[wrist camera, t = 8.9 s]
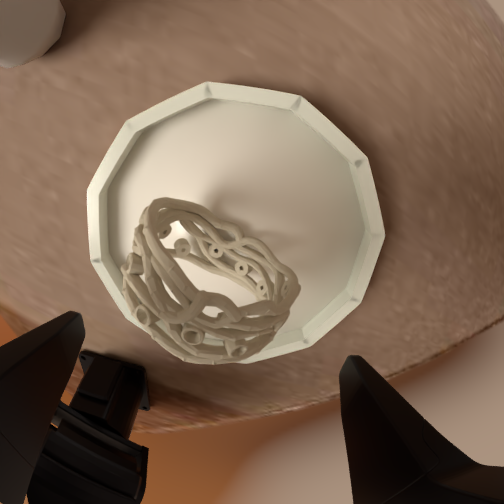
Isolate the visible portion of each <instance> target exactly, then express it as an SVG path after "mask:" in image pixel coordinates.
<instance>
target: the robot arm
mask: <svg viewBox="0 0 504 504" xmlns="http://www.w3.org/2000/svg"><path fill="white" fill-rule="evenodd" d="M84 338H85V328H84V323H83V319H82V315H81V314H80V313H78V312H75V311H68V312H66V313H64V314H62V315H60V316H58V317H56V318H54V319H52V320H51V321H49V322H47V323H45V324H43V325H41V326H39V327H37V328H35V329H33V330H31V331H29V332H27V333H25V334H23V335H21V336H20V337H18V338H16V339H14V340H12V341H10V342H8V343H6V344H4V345H2V346H1V347H0V502H1V503H2V504H23V503H24V500H25V496H26V494H27V498H28V502H29V504H140V503H141V501H142V499H143V496H144V492H145V488H146V478H147V463H148V451H149V448H147V447H144V446H140V445H138V444H136V443H134V442H132V441H130V440H129V437H130V434H131V431H132V427H133V424H134V421H135V418H136V415H137V412H138V409H141V410H145V411H149V410H150V406H151V405H150V399H149V392H148V385H147V377H146V371H145V369H144V368H143V367H141V366H137V365H133V364H129V363H125V362H121V361H117V360H113V359H110V358H106V357H102V356H99V355H95V354H92V353H89V352H85V351H81V352H80V349H81V346H82V344H83V341H84ZM79 352H80V354H79ZM78 355H79V359H80V362H81V365H82V369H83V372H84V376H83V378H82V380H81V382H80V384H79V386H78V388H77V391H76V393H75V394H74V396H73V398H72V400H71V402H70V404H69V406H68V405H66V404H64V403H63V402H62V401H61V400H60V399H61V397H62V394H63V392H64V390H65V388H66V385H67V383H68V381H69V379H70V377H71V374H72V372H73V369H74V366H75V363H76V361H77V358H78ZM339 384H340V402H341V417H342V424H343V429H344V437H345V443H346V450H347V457H348V463H349V471H350V479H351V487H352V495H353V504H504V467H499V466H487V465H482V464H479V463H477V462H475V461H473V460H472V459H471V458H469V457H468V456H467V455H466V454H464V453H463V452H462V451H461V450H459V449H458V448H457V447H456V446H454V445H453V444H452V443H451V442H450V441H448V440H447V439H446V438H445V437H444V436H442V435H441V434H440V433H439V432H438V431H437V430H436V429H435V428H434V427H433V426H432V425H431V424H430V423H429V422H428V421H426V420H425V419H424V418H423V417H422V416H421V415H420V414H419V413H418V412H417V411H416V410H415V409H414V408H413V407H412V406H411V405H410V404H409V403H408V402H407V401H406V400H405V399H404V398H403V397H402V396H401V395H400V394H399V393H398V392H397V391H396V390H395V389H394V388H393V387H392V386H391V385H390V384H389V383H388V382H387V381H386V380H385V379H384V378H383V377H382V376H381V375H380V374H379V373H378V372H377V371H376V370H375V369H374V368H373V367H372V366H371V365H370V364H369V363H368V362H367V361H366V360H364V359H363V358H362V357H361V356H359V355H349V356H348V357H347V359H346V361H345V363H344V365H343V367H342V369H341V371H340V374H339ZM51 422H52V423H53V424H55V425H56V426H58V428H56V427H54V426H53V425H51Z"/></svg>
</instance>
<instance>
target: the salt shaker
mask: <svg viewBox="0 0 504 504" xmlns="http://www.w3.org/2000/svg"><path fill="white" fill-rule="evenodd" d="M65 16H66V13H65V11H64V9H63V6H62V4H61V2H60V0H0V66H2V67H5V68H11V67H16V66H19V65H23V64H26V63H28V62H30V61H32V60H35V59H37V58H39V57H41V56H43V55H44V54H45V53H46V51H47V50H48V49H49V48H50V47H51V46H52V45H53V44H54V43H55V42H56V41H57V40H58V39H59V38H60V36H61V32H62V28H63V24H64V20H65Z"/></svg>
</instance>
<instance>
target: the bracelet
mask: <svg viewBox="0 0 504 504" xmlns="http://www.w3.org/2000/svg"><path fill="white" fill-rule="evenodd" d="M163 208H166V209H163ZM160 209H161V210H160ZM159 210H160V211H159ZM178 220H179V222H180V224H181V225H182V226H183V228H184V229H185V230H186V231H187V232H188V233H189V234H190V235H192V236H194V237H195V238H196V240H197V242H198V244H199V246H200V249H201V251H202V253H203V254H204V255H205V256H206V257H207V258H208V260H210V261H211V262H212V263H213V264H214V265H212V264H211V263H209V262H207V261H205V260H204V259H202V258H200V257H198V256H196V255H194V254H192V253H190V252H191V246H190V245H189V243H188V241H187V240H186V239H184V238H180V239H178V240H176V241H175V243H174V248H175V249H170V248H165V247H164V246H163V244H162V242H161V241H160V239H164V238H166V237H167V236H168V235H169V234H170V233H171V230H172V228H171V226H170V225H169V224H171V223H173V222H175V221H178ZM193 222H194V223H196V224H198V225H199V226H200V227H201V228H203V229H204V230H205V231H206V232H207V233H208V234H209V235H210V236H209V235H206V234H203V232H202V231H201V230H200V229H199V228H198V227H197V226H196V225H195V224H194V223H193ZM214 227H216V228H218V229H222V230H226V231H230V232H232V233H234V235H235V240H231V241H227V240H225V239H224V238H223V237H222V236H221V235H220V234H219V233H218V231H217V230H216V229H215V228H214ZM207 242H209V243H211V244H210V247H209V245H208V243H207ZM132 244H133V245H132V250H133V253H129V254H128V256H127V259H126V263H124V264H122V266H121V271H122V273H123V289H122V293H123V294H124V297H125V300H126V303H127V306H128V308H129V310H130V312H131V315H132V316H133V317H134V318H135V319H136V320H137V321H138V322H139V324H140V325H141V326H142V327H143V328H144V329H145V330H146V331H147V332H148V333H149V334H150V335H151V337H152V339H154V340H155V341H156V342H158V343H159V344H160V345H161V346H162V347H163V348H164V349H166V350H167V351H169V352H170V353H171V354H173V355H174V356H176V357H178V358H180V359H181V360H183V361H185V362H190V363H195V364H213V365H216V364H225V363H234V362H240V361H241V360H244V359H247V358H249V357H251V356H253V355H254V354H259V353H260V351H261V350H262V349H263V348H264V347H265V346H266V345H268V344H269V343H270V342H271V341H273V338H274V336H275V335H276V333H277V331H278V330H279V329H280V328H281V327H282V326H283V325H284V323H285V322H286V321H287V319H288V317H289V316H290V308H291V306H292V304H293V303H294V302H295V300H296V298H297V297H298V296H299V293H300V291H301V285H300V284H299V283H298V278H297V276H296V274H295V273H294V271H293V270H292V269H291V268H289V267H288V266H286V265H284V264H282V263H281V262H280V261H279V260H278V259H277V258H276V257H275V255H274V254H273V253H272V251H271V250H270V249H269V248H268V246H267V245H266V244H265V243H264V242H262V241H261V240H260V239H258V238H256V237H252V236H247V237H245V236H244V232H243V229H242V228H241V227H240V226H238V225H237V224H236V223H232V222H229V221H224V220H221V219H219V218H217V217H216V216H215V215H214V214H213V213H212V212H211V211H209V210H208V209H207V208H205V207H204V206H202V205H200V204H197V203H194V202H190V201H186V200H180V199H174V198H169V197H162V198H158V199H154V200H153V201H152V202H151V204H150V205H149V206H148V207H146V208H145V209H144V210H143V212H142V214H141V216H140V218H139V225H138V226H137V227H136V228H135V230H134V240H133V242H132ZM246 245H252V246H254V247H256V248H257V249H258V250H260V251H261V252H262V254H261V253H260V252H258V251H256V250H254V249H252V248H250V247H248V246H246ZM216 248H217V249H218V251H215V250H214V249H216ZM233 249H236V250H238V251H240V252H242V253H244V254H246V255H248V256H250V257H252V258H253V259H255V260H257V261H259V262H260V263H262V264H264V265H265V266H267V267H268V268H270V269H271V270H272V271H273V273H274V275H275V285H274V283H273V282H272V281H271V279H270V277H269V275H268V273H267V272H266V270H265V269H264V268H263V267H262V265H260V264H259V263H258V262H257V261H255V260H253V259H250V258H248V257H245V256H242V255H240V254H238V253H237V252H235V251H234V250H233ZM223 252H225V253H226V254H228V255H229V256H231V257H232V258H234V259H235V260H237V261H238V262H237V263H236V264H235V268H234V267H232V266H231V265H229V264H227V263H226V262H224V261H223V260H221V259H220V258H219V257H221V256H222V254H223ZM174 258H180V259H183V260H187V261H189V262H191V263H193V264H194V265H196V266H198V267H200V268H202V269H204V270H206V271H208V272H210V273H213V274H216V275H219V276H223V277H226V278H228V279H230V280H232V281H233V282H235V283H237V284H238V285H240V286H242V287H244V288H245V289H246V290H248V291H249V292H251V293H252V294H253V295H255V298H256V301H257V302H255V303H252V304H248V305H245V306H241V307H237V306H236V304H235V303H234V302H233V301H232V300H231V299H230V298H228V297H227V296H225V295H223V294H220V293H214V292H206V291H205V290H201V291H200V290H199V289H197V288H196V287H195V286H194V285H193V283H192V282H191V281H190V280H189V279H188V277H187V276H186V275H185V273H184V272H183V270H182V269H181V267H180V266H179V264H178V263H177V262H176V260H175V259H174ZM242 266H243V267H242ZM253 268H254V269H255V270H256V271H257V272H258V273H259V275H260V276H261V278H262V279H263V280H260V281H258V284H257V282H256V281H255V280H254V279H253V278H251V277H250V276H249V275H247V274H249V273H250V272H251V271H252V269H253ZM143 273H144V275H145V282H146V284H147V285H146V284H145V282H144V281H143V280H142V279H141V277H140V276H139V275H143ZM285 276H286V277H287V278H288V280H287V281H285ZM162 280H163V281H164V283H165V284H166V285H167V286H168V288H169V289H170V290H171V292H172V293H173V295H174V296H175V297H176V299H177V300H178V301H179V303H180V304H179V303H177V302H176V301H175V300H174V299H172V298H171V296H170V295H169V294H168V292H167V291H166V289H165V287H164V284H163V282H162ZM136 295H137V296H138V298H139V299H140V300H141V302H142V303H143V304H141V305H140V304H139V303H138V300H137V297H136ZM284 297H285V298H284ZM205 306H211V307H217V308H219V309H220V310H222V311H223V312H220V313H218V315H217V317H210V316H208V315H206V314H204V313H203V312H202V311H203V310H204V308H205ZM252 315H259V317H253V318H249V317H247V316H252ZM160 319H162V320H163V321H164V324H165V326H166V328H167V331H168V333H169V334H170V336H171V337H172V338H173V339H172V338H171V337H170V336H169V335H168V334H167V333H165V332H164V331H163V330H162V329H161V328H160V327H159V326H158V325H157V324H156V323H155V322H157V321H160ZM181 323H184V324H183V326H182V325H181ZM225 327H229V328H225ZM205 333H207V334H209V335H211V336H213V337H216V338H220V339H223V340H224V341H223V344H224V346H213V345H209V344H205V343H202V342H203V340H204V337H205ZM253 336H256V337H254V338H252V339H250V340H246V341H245V339H244V338H248V337H253Z"/></svg>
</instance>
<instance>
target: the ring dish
mask: <svg viewBox="0 0 504 504" xmlns="http://www.w3.org/2000/svg"><path fill="white" fill-rule="evenodd" d="M162 197H169V198H174V199H180V200H186V201H190V202H194V203H197V204H200V205H202V206H204V207H205V208H207V209H208V210H209V211H211V212H212V213H213V214H214V215H215V216H216V217H217V218H219V219H221V220H224V221H229V222H232V223H236V224H237V225H238V226H240V227H241V228H242V229H243V232H244V236H245V237H247V236H252V237H256V238H258V239H260V240H261V241H262V242H264V243H265V244H266V245H267V246H268V248H269V249H270V250H271V251H272V253H273V254H274V255H275V257H276V258H277V259H278V260H279V261H280V262H281V263H282V264H284V265H286V266H288V267H289V268H291V269H292V270H293V271H294V273H295V274H296V276H297V278H298V283H299V284H300V285H301V291H300V293H299V296H298V297H297V298H296V300H295V302H294V303H293V304H292V306H291V308H290V316H289V317H288V319H287V321H286V322H285V323H284V325H283V326H282V327H281V328H280V329H279V330H278V331H277V333H276V335H275V336H274V338H273V341H271V342H270V343H269V344H268V345H266V346H265V347H264V348H263V349H262V350H261V351H260V353H259V354H254V355H253V356H251V357H249V358H247V359H244V360H241V361H240V362H236V363H244V364H248V363H252V362H256V361H260V360H264V359H268V358H272V357H276V356H279V355H283V354H287V353H290V352H294V351H297V350H301V349H304V348H308V347H311V346H312V345H313V344H314V343H315V342H317V341H318V340H319V339H320V338H321V337H323V336H324V335H325V334H326V333H327V332H328V331H330V330H331V329H332V328H333V327H334V326H335V325H337V324H338V323H339V322H340V321H341V320H342V319H344V318H345V317H346V316H347V315H348V314H349V313H350V312H351V311H352V310H354V309H355V308H356V307H357V306H358V305H359V304H360V303H361V302H362V299H363V297H364V294H365V292H366V289H367V286H368V284H369V281H370V278H371V276H372V273H373V270H374V267H375V265H376V262H377V259H378V256H379V253H380V250H381V247H382V244H383V241H384V238H385V231H384V226H383V221H382V216H381V211H380V206H379V202H378V197H377V193H376V189H375V184H374V180H373V176H372V172H371V169H370V165H369V161H368V157H367V156H366V155H365V154H364V153H363V152H362V151H361V150H360V149H359V148H358V147H357V146H356V145H355V144H354V143H353V142H352V141H351V140H350V139H349V138H348V137H346V136H345V135H344V134H343V133H342V132H341V131H340V130H339V129H338V128H337V127H336V126H335V125H334V124H333V123H332V122H331V121H329V120H328V119H327V118H326V117H325V116H324V115H323V114H322V113H321V112H319V111H318V110H317V109H316V108H315V107H314V106H313V105H311V104H310V103H309V102H308V101H307V100H306V99H304V98H303V97H302V96H299V95H295V94H290V93H284V92H279V91H274V90H268V89H262V88H255V87H248V86H241V85H233V84H224V83H215V82H205V83H202V84H200V85H198V86H195V87H193V88H191V89H189V90H186V91H184V92H182V93H180V94H178V95H176V96H173V97H171V98H169V99H167V100H165V101H163V102H161V103H159V104H157V105H155V106H153V107H151V108H149V109H147V110H146V111H144V112H142V113H140V114H138V115H136V116H134V117H133V118H131V119H129V120H127V121H126V122H125V124H124V125H123V127H122V128H121V130H120V132H119V133H118V135H117V137H116V138H115V140H114V142H113V143H112V145H111V147H110V148H109V150H108V152H107V154H106V155H105V157H104V159H103V161H102V162H101V164H100V166H99V168H98V170H97V172H96V174H95V175H94V177H93V179H92V181H91V183H90V185H89V187H88V189H87V214H88V235H89V249H90V260H91V263H92V265H93V266H94V268H95V270H96V272H97V273H98V275H99V277H100V278H101V280H102V282H103V283H104V285H105V286H106V288H107V290H108V291H109V293H110V294H111V296H112V298H113V299H114V301H115V302H116V304H117V305H118V307H119V308H120V310H121V311H122V313H123V314H124V316H125V317H126V319H128V320H129V321H131V322H132V323H133V324H135V325H136V326H138V327H140V328H141V329H143V330H144V331H146V330H145V329H144V328H143V327H142V326H141V325H140V324H139V322H138V321H137V320H136V319H135V318H134V317H133V316H132V315H131V312H130V310H129V308H128V306H127V303H126V300H125V297H124V294H123V293H122V289H123V273H122V271H121V266H122V264H124V263H126V259H127V256H128V254H129V253H133V250H132V245H133V244H132V242H133V240H134V230H135V228H136V227H137V226H138V225H139V218H140V216H141V214H142V212H143V210H144V209H145V208H146V207H148V206H149V205H150V204H151V202H152V201H153V200H154V199H158V198H162ZM163 209H166V208H163ZM160 210H161V209H160ZM160 210H159V211H160ZM193 223H194V222H193ZM194 224H195V225H196V226H197V227H198V228H199V229H200V230H201V231H202V232H203V234H206V235H209V234H208V233H207V232H206V231H205V230H204V229H203V228H201V227H200V226H199V225H198V224H196V223H194ZM169 225H170V226H171V228H172V230H171V233H170V234H169V235H168V236H167V237H166V238H164V239H160V241H161V242H162V244H163V246H164V247H165V248H170V249H175V248H174V243H175V241H176V240H178V239H180V238H184V239H186V240H187V241H188V243H189V245H190V246H191V252H190V253H192V254H194V255H196V256H198V257H200V258H202V259H204V260H205V261H207V262H209V263H211V264H212V265H214V264H213V263H212V262H211V261H210V260H208V258H207V257H206V256H205V255H204V254H203V253H202V251H201V249H200V246H199V244H198V242H197V240H196V238H195V237H194V236H192V235H190V234H189V233H188V232H187V231H186V230H185V229H184V228H183V226H182V225H181V224H180V222H179V220H178V221H175V222H173V223H171V224H169ZM214 228H215V229H216V230H217V231H218V233H219V234H220V235H221V236H222V237H223V238H224V239H225V240H227V241H231V240H235V235H234V233H232V232H230V231H226V230H222V229H218V228H216V227H214ZM209 236H210V235H209ZM207 243H208V245H209V247H210V244H211V243H209V242H207ZM246 246H248V247H250V248H252V249H254V250H256V251H258V252H260V253H261V254H262V252H261V251H260V250H258V249H257V248H256V247H254V246H252V245H246ZM214 250H215V251H218V249H217V248H216V249H214ZM233 250H234V251H235V252H237V253H238V254H240V255H242V256H245V257H248V258H250V259H253V258H252V257H250V256H248V255H246V254H244V253H242V252H240V251H238V250H236V249H233ZM219 258H220V259H221V260H223V261H224V262H226V263H227V264H229V265H231V266H232V267H234V268H235V264H236V263H237V262H238V261H237V260H235V259H234V258H232V257H231V256H229V255H228V254H226V253H225V252H223V254H222V256H221V257H219ZM174 259H175V260H176V262H177V263H178V264H179V266H180V267H181V269H182V270H183V272H184V273H185V275H186V276H187V277H188V279H189V280H190V281H191V282H192V283H193V285H194V286H195V287H196V288H197V289H199V290H200V291H201V290H205V291H206V292H214V293H220V294H223V295H225V296H227V297H228V298H230V299H231V300H232V301H233V302H234V303H235V304H236V306H237V307H241V306H245V305H248V304H252V303H255V302H257V301H256V298H255V295H253V294H252V293H251V292H249V291H248V290H246V289H245V288H244V287H242V286H240V285H238V284H237V283H235V282H233V281H232V280H230V279H228V278H226V277H223V276H219V275H216V274H213V273H210V272H208V271H206V270H204V269H202V268H200V267H198V266H196V265H194V264H193V263H191V262H189V261H187V260H183V259H180V258H174ZM253 260H255V259H253ZM255 261H257V260H255ZM257 262H258V263H259V264H260V265H262V267H263V268H264V269H265V270H266V272H267V273H268V275H269V277H270V279H271V281H272V282H273V283H274V285H275V275H274V273H273V271H272V270H271V269H270V268H268V267H267V266H265V265H264V264H262V263H260V262H259V261H257ZM242 267H243V266H242ZM247 275H249V276H250V277H251V278H253V279H254V280H255V281H256V282H257V284H258V281H260V280H263V279H262V278H261V276H260V275H259V273H258V272H257V271H256V270H255V269H254V268H253V269H252V271H251V272H250V273H249V274H247ZM139 276H140V277H141V279H142V280H143V281H144V282H145V275H144V273H143V275H139ZM287 280H288V278H287V277H286V276H285V281H287ZM162 282H163V284H164V287H165V289H166V291H167V292H168V294H169V295H170V296H171V298H172V299H174V300H175V301H176V302H177V303H179V301H178V300H177V299H176V297H175V296H174V295H173V293H172V292H171V290H170V289H169V288H168V286H167V285H166V284H165V283H164V281H163V280H162ZM145 284H146V282H145ZM146 285H147V284H146ZM136 297H137V300H138V303H139V304H140V305H141V304H143V303H142V302H141V300H140V299H139V298H138V296H137V295H136ZM284 298H285V297H284ZM179 304H180V303H179ZM202 312H203V313H204V314H206V315H208V316H210V317H217V315H218V313H220V312H223V311H222V310H220V309H219V308H217V307H211V306H205V308H204V310H203V311H202ZM247 317H249V318H253V317H259V315H252V316H247ZM155 323H156V324H157V325H158V326H159V327H160V328H161V329H162V330H163V331H164V332H165V333H167V334H168V335H169V336H170V334H169V333H168V331H167V328H166V326H165V324H164V321H163V320H162V319H160V321H157V322H155ZM183 324H184V323H181V325H182V326H183ZM225 328H229V327H225ZM146 332H147V331H146ZM147 333H148V332H147ZM170 337H171V336H170ZM254 337H256V336H253V337H248V338H244V339H245V341H246V340H250V339H252V338H254ZM171 338H172V337H171ZM172 339H173V338H172ZM223 341H224V340H223V339H220V338H216V337H213V336H211V335H209V334H207V333H205V337H204V340H203V342H202V343H205V344H209V345H213V346H224V344H223Z"/></svg>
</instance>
